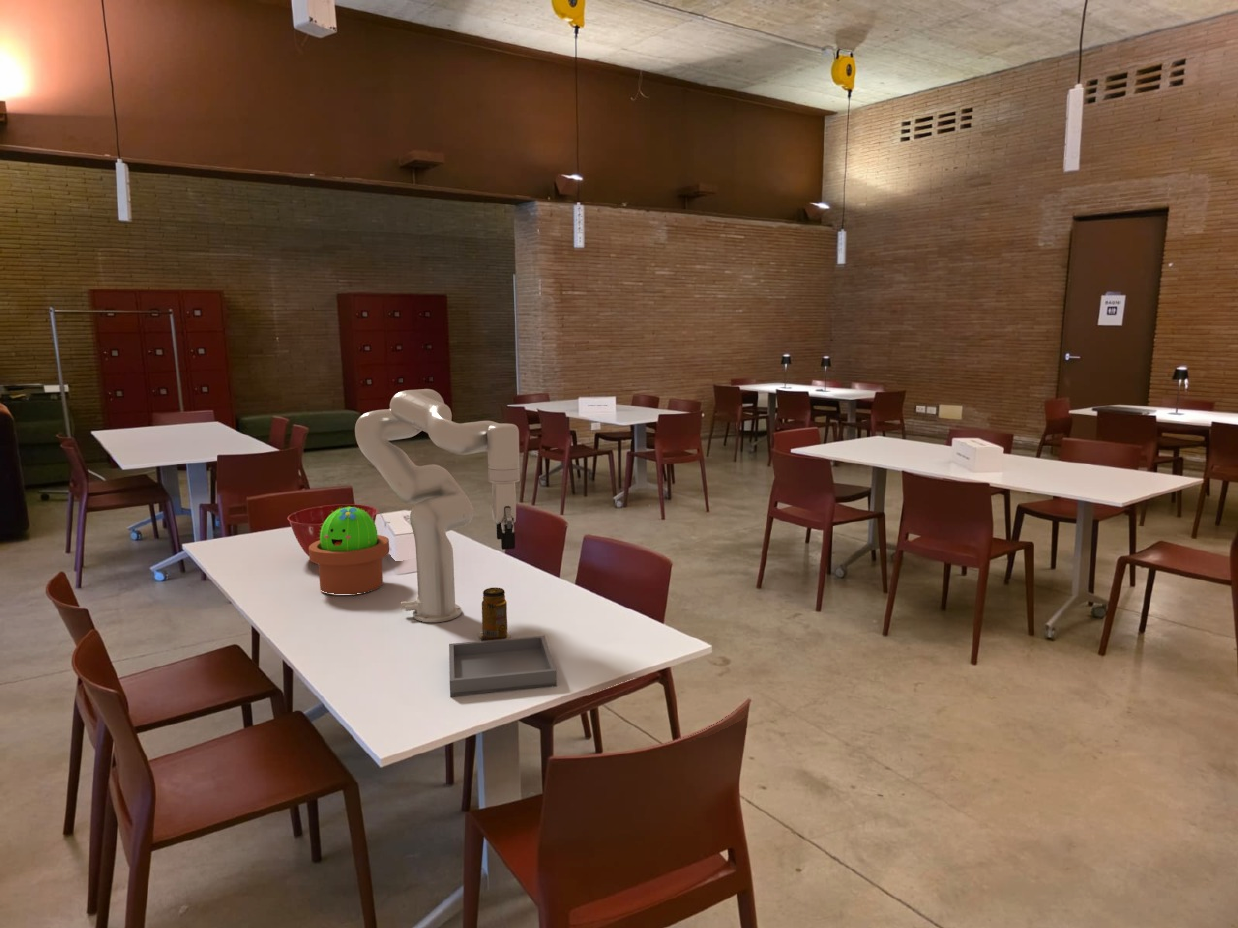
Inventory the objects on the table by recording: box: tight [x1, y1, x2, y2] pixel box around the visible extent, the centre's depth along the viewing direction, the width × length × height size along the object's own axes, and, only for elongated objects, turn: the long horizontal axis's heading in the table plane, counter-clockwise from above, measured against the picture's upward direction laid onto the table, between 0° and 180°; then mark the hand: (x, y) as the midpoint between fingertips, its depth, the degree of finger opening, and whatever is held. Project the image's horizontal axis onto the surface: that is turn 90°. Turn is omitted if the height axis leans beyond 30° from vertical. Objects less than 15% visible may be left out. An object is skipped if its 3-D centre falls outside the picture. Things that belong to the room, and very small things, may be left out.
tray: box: [448, 635, 558, 698], centre depth 169 cm, size 22×20×4 cm
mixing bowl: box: [287, 503, 379, 557], centre depth 259 cm, size 28×28×16 cm
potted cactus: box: [308, 507, 390, 594], centre depth 227 cm, size 22×22×25 cm
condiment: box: [477, 587, 512, 641], centre depth 188 cm, size 7×8×12 cm
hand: (505, 543), depth 188 cm, fingers open, 9 cm apart
